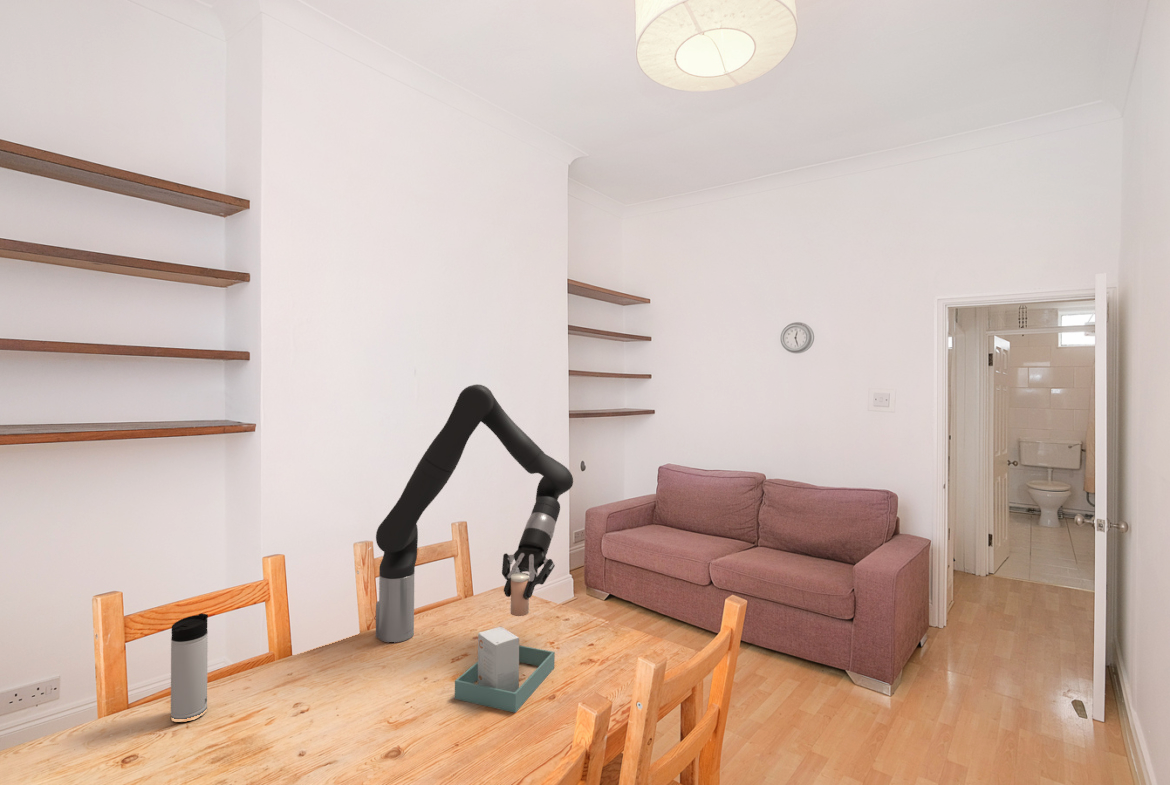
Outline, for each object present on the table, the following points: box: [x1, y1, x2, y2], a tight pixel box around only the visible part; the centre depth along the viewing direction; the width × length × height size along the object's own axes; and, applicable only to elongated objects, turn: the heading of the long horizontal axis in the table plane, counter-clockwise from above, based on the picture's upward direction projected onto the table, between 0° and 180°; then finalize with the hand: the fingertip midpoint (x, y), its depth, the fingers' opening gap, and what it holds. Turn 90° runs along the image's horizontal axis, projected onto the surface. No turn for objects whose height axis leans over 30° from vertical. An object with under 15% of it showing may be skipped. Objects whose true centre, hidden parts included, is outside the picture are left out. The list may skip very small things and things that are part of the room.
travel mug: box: [170, 612, 209, 719], centre depth 120 cm, size 6×7×20 cm
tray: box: [454, 644, 556, 713], centre depth 135 cm, size 15×21×4 cm
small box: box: [476, 626, 520, 692], centre depth 131 cm, size 8×6×13 cm
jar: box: [510, 572, 530, 617], centre depth 141 cm, size 4×4×9 cm
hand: (516, 596), depth 139 cm, fingers closed on jar, 4 cm apart
